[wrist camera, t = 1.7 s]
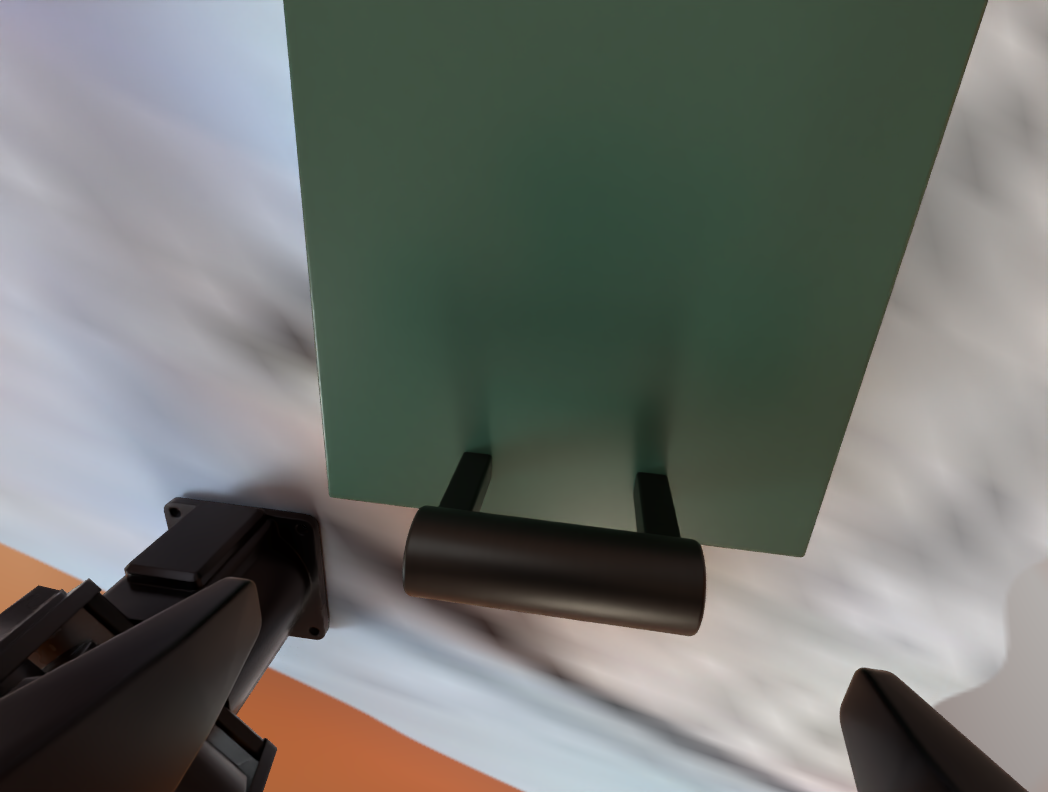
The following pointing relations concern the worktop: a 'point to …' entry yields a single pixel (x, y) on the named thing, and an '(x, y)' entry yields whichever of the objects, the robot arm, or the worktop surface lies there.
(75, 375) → the worktop surface
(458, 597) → the lid
